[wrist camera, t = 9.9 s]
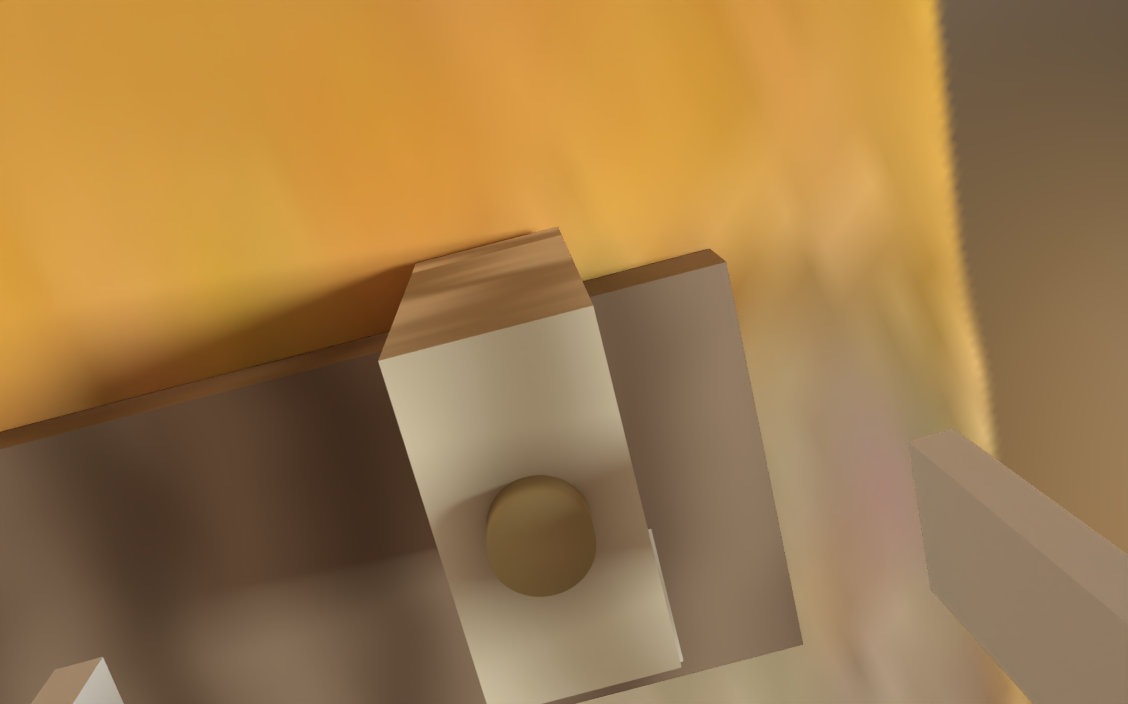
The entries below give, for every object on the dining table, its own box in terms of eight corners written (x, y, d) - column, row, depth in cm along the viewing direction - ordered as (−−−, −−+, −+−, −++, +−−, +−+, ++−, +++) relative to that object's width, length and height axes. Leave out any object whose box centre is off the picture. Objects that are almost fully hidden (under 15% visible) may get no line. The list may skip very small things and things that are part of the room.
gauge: (490, 514, 29) (490, 749, 19) (415, 263, 27) (371, 377, 17) (621, 481, 29) (691, 697, 19) (558, 226, 27) (599, 319, 17)
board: (54, 798, 31) (25, 846, 29) (-110, 460, 28) (-155, 489, 26) (783, 609, 31) (803, 644, 29) (710, 248, 28) (726, 262, 26)
